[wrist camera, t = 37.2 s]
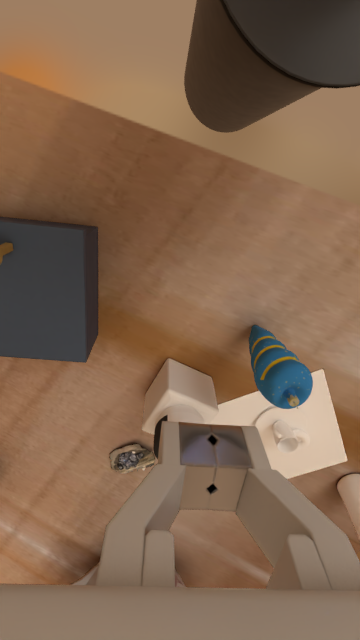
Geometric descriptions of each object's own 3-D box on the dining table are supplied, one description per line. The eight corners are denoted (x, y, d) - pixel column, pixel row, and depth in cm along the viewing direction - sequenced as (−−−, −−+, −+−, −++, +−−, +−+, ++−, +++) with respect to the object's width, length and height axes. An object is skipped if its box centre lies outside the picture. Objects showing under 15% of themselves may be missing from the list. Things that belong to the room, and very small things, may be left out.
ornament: (264, 302, 40) (312, 372, 26) (281, 332, 42) (335, 411, 28) (228, 323, 41) (257, 400, 28) (246, 351, 43) (282, 436, 29)
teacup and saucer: (312, 437, 50) (323, 458, 46) (263, 452, 51) (270, 474, 48) (299, 396, 47) (310, 416, 43) (247, 414, 48) (253, 434, 44)
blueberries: (163, 453, 51) (163, 463, 49) (132, 480, 53) (131, 491, 52) (129, 434, 49) (127, 443, 47) (99, 462, 51) (96, 473, 50)
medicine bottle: (187, 411, 47) (193, 484, 36) (144, 393, 46) (136, 464, 35) (212, 376, 45) (227, 443, 34) (167, 356, 43) (167, 420, 32)
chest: (-69, 209, 34) (-112, 216, 29) (98, 226, 35) (85, 237, 30) (-45, 322, 40) (-77, 346, 35) (98, 334, 41) (87, 358, 36)
